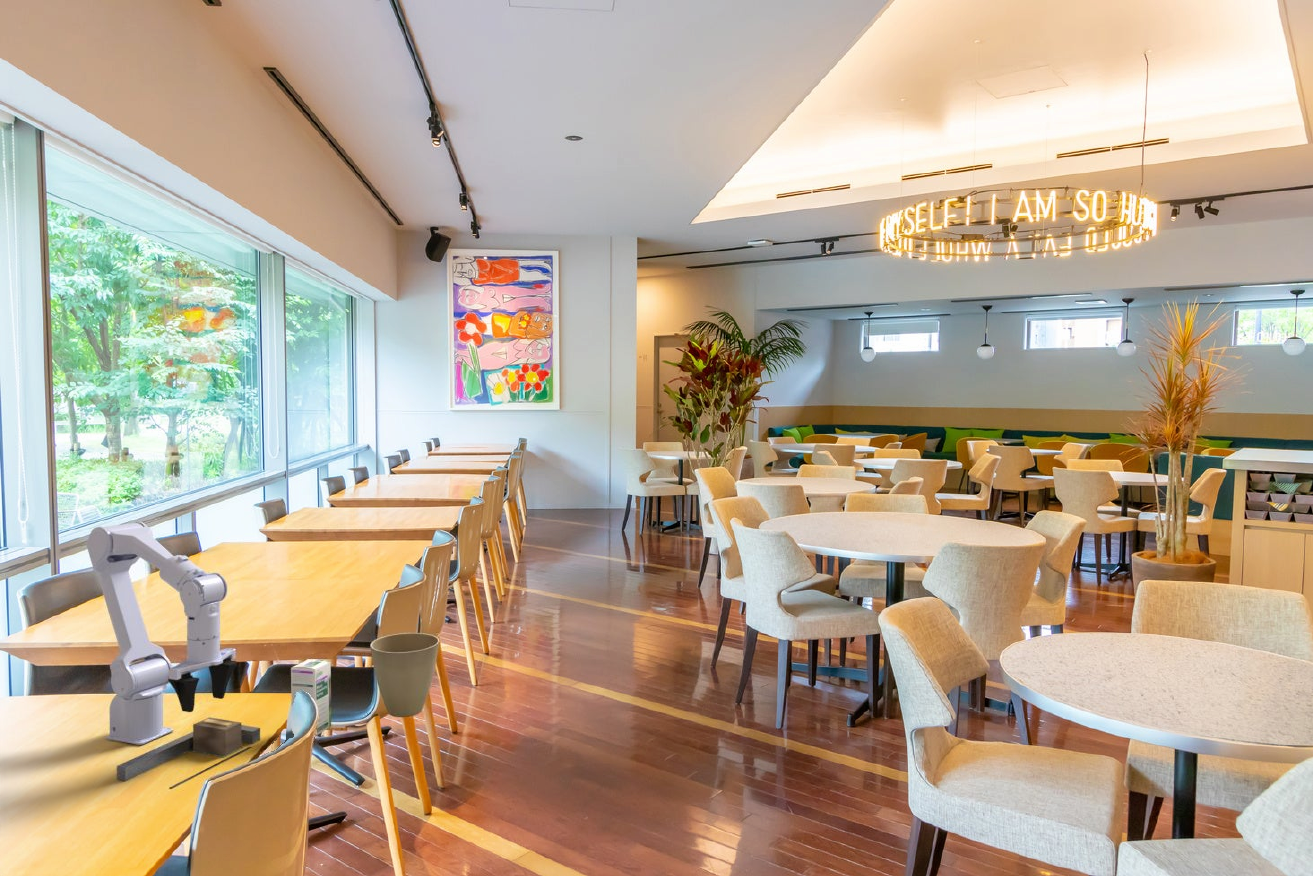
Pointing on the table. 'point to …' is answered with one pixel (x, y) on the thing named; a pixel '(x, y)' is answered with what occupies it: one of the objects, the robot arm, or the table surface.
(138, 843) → the table surface
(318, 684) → the syrup box
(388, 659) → the plant pot
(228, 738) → the taupe rectangular block
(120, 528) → the robot arm
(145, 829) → the table surface
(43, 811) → the table surface
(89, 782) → the table surface
